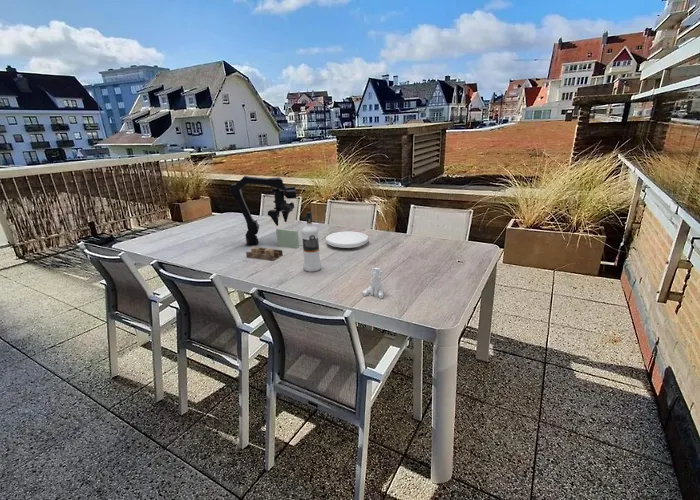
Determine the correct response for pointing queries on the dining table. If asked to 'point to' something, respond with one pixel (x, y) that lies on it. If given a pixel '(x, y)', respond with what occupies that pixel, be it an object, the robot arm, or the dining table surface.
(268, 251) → the offcut
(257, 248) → the offcut
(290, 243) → the green rectangular slab
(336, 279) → the dining table surface
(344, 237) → the plate
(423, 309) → the dining table surface
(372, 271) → the sitting furry creature
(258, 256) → the rack
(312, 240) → the vodka
